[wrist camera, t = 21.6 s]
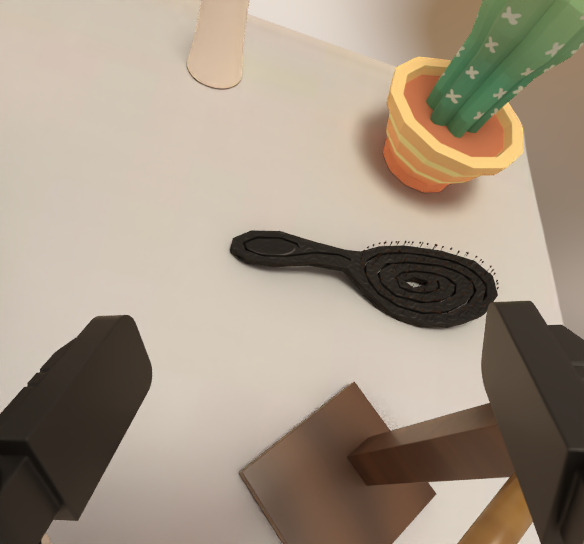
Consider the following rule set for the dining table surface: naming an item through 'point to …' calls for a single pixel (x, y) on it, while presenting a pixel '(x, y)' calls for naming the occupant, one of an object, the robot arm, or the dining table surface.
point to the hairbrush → (386, 275)
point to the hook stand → (381, 475)
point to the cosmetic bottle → (219, 43)
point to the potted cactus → (475, 93)
